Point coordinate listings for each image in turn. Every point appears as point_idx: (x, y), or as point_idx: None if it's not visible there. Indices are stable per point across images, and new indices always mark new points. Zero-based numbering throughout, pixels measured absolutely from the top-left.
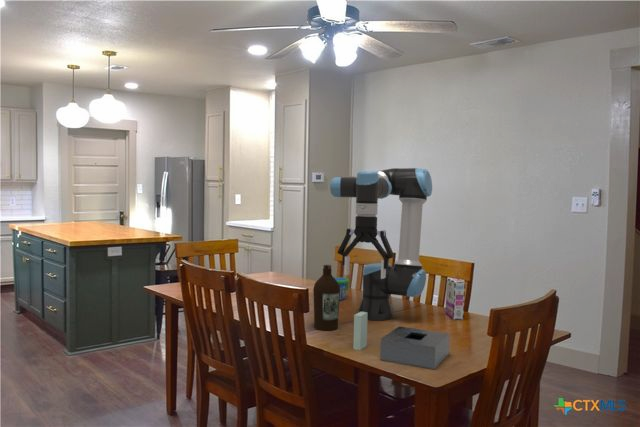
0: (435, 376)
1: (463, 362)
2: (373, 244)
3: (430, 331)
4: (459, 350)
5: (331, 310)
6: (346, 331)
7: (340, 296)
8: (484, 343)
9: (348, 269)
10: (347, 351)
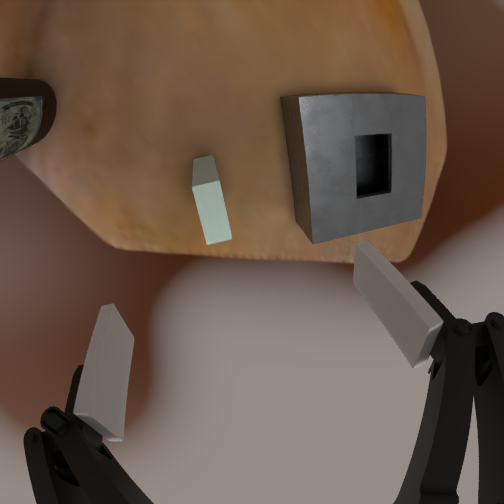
0: (401, 229)
1: None
2: (398, 499)
3: (388, 100)
4: (401, 57)
5: (25, 130)
6: (86, 89)
7: None
8: None
9: (114, 339)
10: None
